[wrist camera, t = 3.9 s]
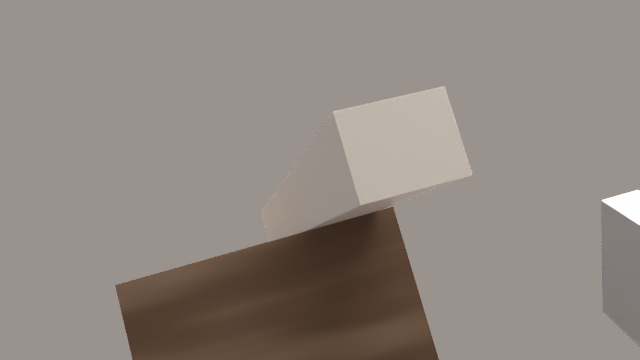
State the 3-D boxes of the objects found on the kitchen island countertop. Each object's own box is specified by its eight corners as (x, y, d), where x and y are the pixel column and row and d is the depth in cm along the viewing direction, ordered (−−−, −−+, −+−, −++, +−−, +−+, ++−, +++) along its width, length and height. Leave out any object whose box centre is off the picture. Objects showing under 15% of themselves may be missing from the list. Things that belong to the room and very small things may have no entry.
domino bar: (472, 175, 14) (443, 82, 14) (360, 205, 13) (331, 108, 14) (313, 235, 37) (303, 199, 38) (269, 247, 37) (259, 211, 37)
